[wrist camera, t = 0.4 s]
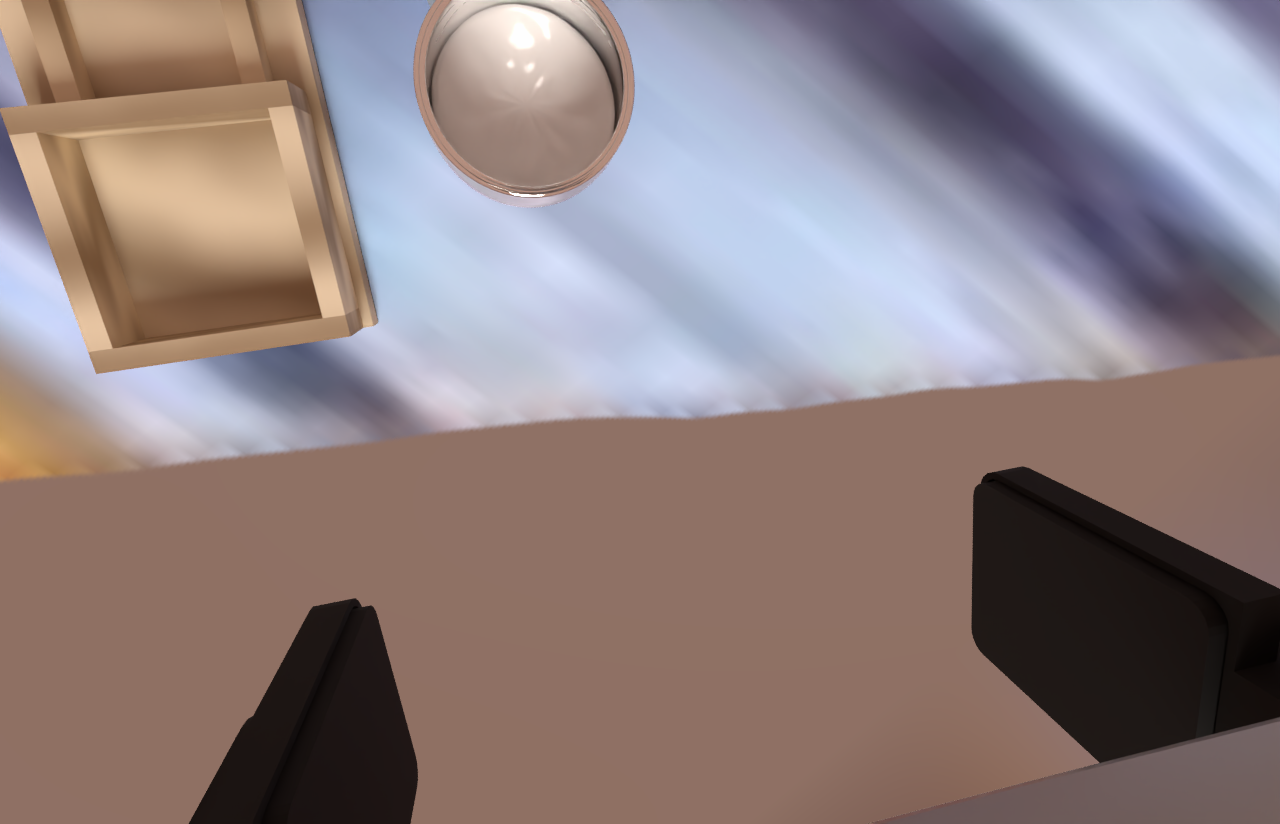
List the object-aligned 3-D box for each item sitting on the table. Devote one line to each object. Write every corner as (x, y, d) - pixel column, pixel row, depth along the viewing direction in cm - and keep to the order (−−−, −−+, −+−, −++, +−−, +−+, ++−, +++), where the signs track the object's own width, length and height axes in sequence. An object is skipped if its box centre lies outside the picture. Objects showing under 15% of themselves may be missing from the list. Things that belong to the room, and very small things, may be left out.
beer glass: (513, 239, 36) (509, 250, 22) (422, 121, 34) (352, 48, 19) (618, 157, 36) (685, 114, 21) (534, 34, 33) (546, -105, 19)
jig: (-50, -165, 28) (-139, -226, 24) (258, -181, 29) (220, -241, 26) (132, 358, 34) (84, 375, 30) (378, 322, 36) (361, 334, 32)
